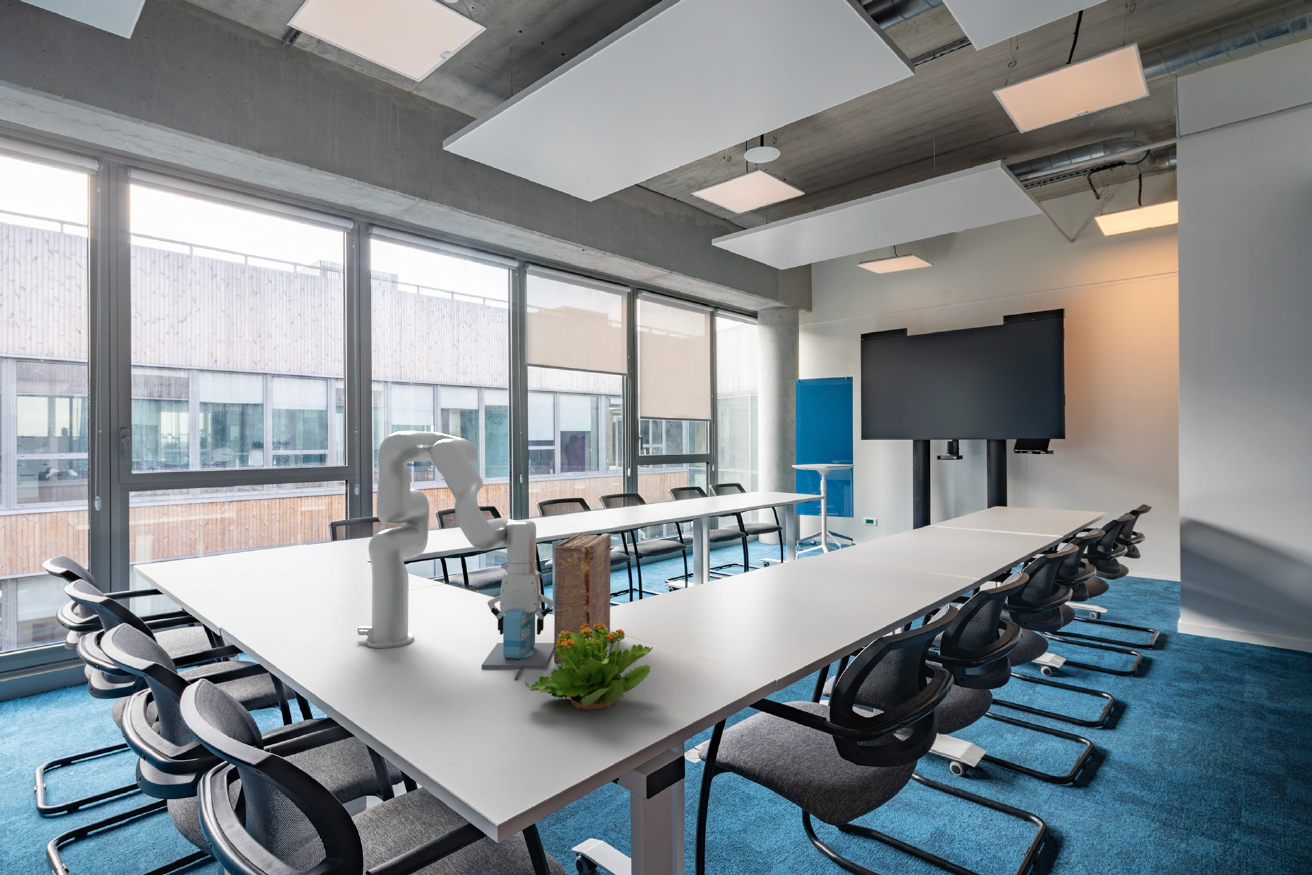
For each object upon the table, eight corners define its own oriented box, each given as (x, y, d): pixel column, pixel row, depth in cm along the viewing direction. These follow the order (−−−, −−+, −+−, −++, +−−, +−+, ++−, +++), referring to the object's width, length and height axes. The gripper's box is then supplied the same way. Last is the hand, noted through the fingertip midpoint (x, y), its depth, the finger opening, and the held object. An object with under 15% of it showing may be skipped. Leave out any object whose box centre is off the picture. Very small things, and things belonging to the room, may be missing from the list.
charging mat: (473, 680, 156) (473, 675, 156) (497, 646, 182) (497, 642, 182) (541, 680, 156) (541, 676, 156) (555, 646, 182) (555, 642, 182)
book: (579, 634, 193) (580, 532, 194) (610, 636, 192) (611, 533, 192) (553, 663, 168) (554, 546, 168) (588, 665, 167) (589, 547, 167)
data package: (519, 660, 167) (520, 613, 167) (502, 659, 167) (503, 612, 167) (535, 646, 179) (535, 602, 179) (519, 645, 179) (519, 601, 179)
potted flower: (577, 674, 160) (578, 602, 161) (667, 689, 151) (668, 613, 151) (518, 713, 137) (518, 629, 137) (620, 733, 128) (621, 643, 128)
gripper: (484, 570, 169) (484, 637, 169) (552, 570, 169) (551, 637, 169) (491, 565, 177) (490, 628, 177) (556, 565, 177) (555, 629, 177)
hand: (520, 633), depth 173 cm, fingers open, 9 cm apart
